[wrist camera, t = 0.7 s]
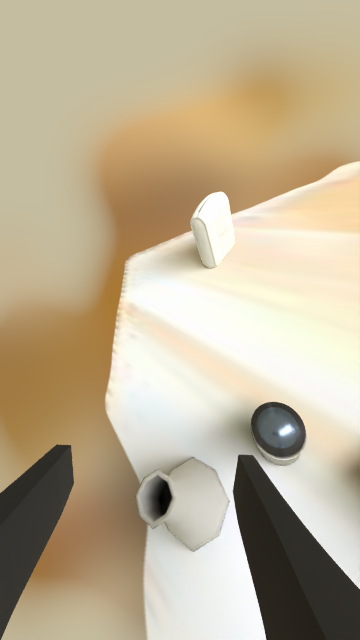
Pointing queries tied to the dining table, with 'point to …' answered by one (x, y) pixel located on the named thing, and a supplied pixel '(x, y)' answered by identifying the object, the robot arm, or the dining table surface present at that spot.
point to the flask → (185, 502)
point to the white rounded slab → (213, 229)
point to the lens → (278, 433)
